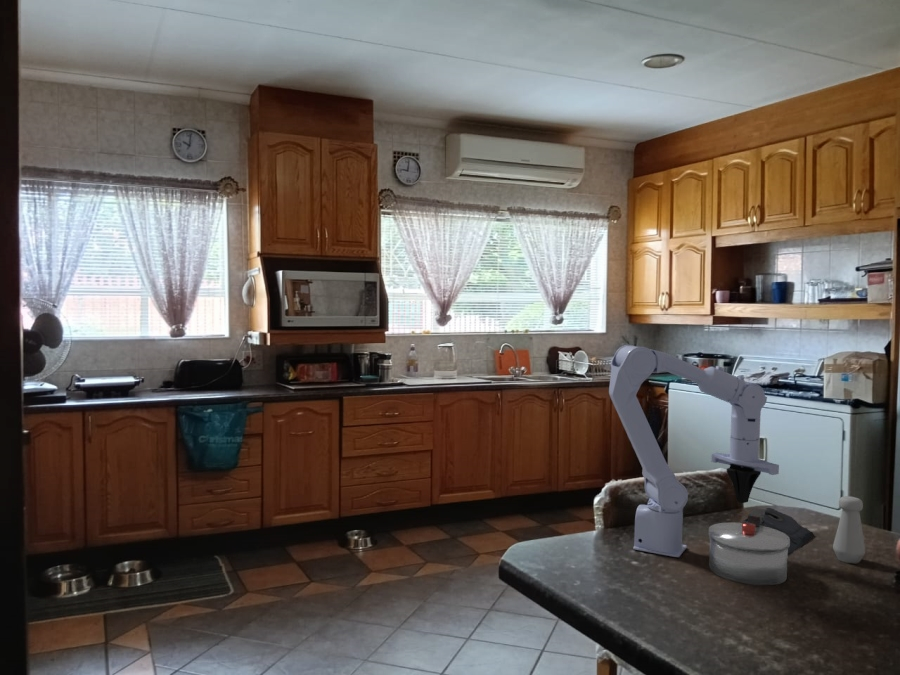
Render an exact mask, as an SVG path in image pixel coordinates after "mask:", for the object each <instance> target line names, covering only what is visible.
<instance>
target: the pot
mask: <svg viewBox="0 0 900 675" xmlns="http://www.w3.org/2000/svg"><path fill="white" fill-rule="evenodd" d="M708 556H709V558H708V569H709V570H710V571H711V572H712V573H714V574H715V575H717V576H719V577H721V578H723V579H726V580H729V581H731V582H732V581H733V582H734V583H735V582H736V583H740V584H745V585H753V586H774V585H780V584H783V583H785V582H786V580H787V575H788V574H787V573H788V556H789V555H788V549H786V550H784V551H779V552H753V551H745V550H740V549H735V548H731V547H727V546H724V545H721V544H719V543H717V542H715V541H713V540H712V539H710V538H709V555H708Z"/></svg>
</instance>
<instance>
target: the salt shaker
mask: <svg viewBox="0 0 900 675" xmlns="http://www.w3.org/2000/svg"><path fill="white" fill-rule="evenodd" d="M863 504H864V503H863V501H862V500H861V498H858V497H854V496H851V495H850V496H848V495H847V496H846V495H845V496H841V497H840V498H839V500H838V506H839V508H840V509H841V514H840V518H839V522H838V525H837V530H836V532H835V536H834V539H833V540H834V541H833V544H832V549H833V551H834V553H835V555H836V557H837V560H838V561H841V562H843V563H845V564H846V563H847V564H859V563H860V562H861V561H862V559H863V557H864V555H865V553H866V547H865V546H866V545H865V540H864V533H863V526H862V520H861V515H860V514H861V513H860V511H862V510H863V508H864V507H863V506H864V505H863Z"/></svg>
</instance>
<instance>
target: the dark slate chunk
mask: <svg viewBox="0 0 900 675" xmlns="http://www.w3.org/2000/svg"><path fill="white" fill-rule="evenodd" d="M741 523H748V517H747V518H745V519H744V520H743V521H742V522H741ZM761 526H765V527H769V528H772V529H775V530H778V531H781V532H783V533H785V534H786V535H787V536H789V538H790V547H789V548H788V556H790V555H791V554H794V552H795V551H797V550H798V549H800V548H802V547H803V546H804V545H805V544H806V543H807V542H809V540H811V539H813V537H815V535H814V534H815V533H814V532H813V531H811V530H810V529H808V528H806V527H803V526H802V525H801V524H799V523H798V522H797V520H795V519H794V518H793V517H792V516H790V515H787V514H785V513H783V512H781V511H778V510H776V509H775V508H772V507H767V508H766V509H765V519H764V521H763V522H762V524H761Z"/></svg>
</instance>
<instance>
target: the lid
mask: <svg viewBox="0 0 900 675" xmlns="http://www.w3.org/2000/svg"><path fill="white" fill-rule="evenodd" d="M765 510H766V509H763V508H757V507H753V508H752V510H751V511H750V512H749V514H748V515H747V518H748V523H742V522H721V523H720V522H718V523H714V524H712V525H710V526H709V527H708V537H709V540H710V539H712V540H713V541H715V542H717V543H719V544H721V545H724V546H727V547H731V548H735V549H740V550H745V551H753V552H779V551H784V550H786V549H788V548H789V547H790V538H789V536H787V535H786V534H785V533H783V532H781V531H778V530H775V529H772V528H769V527H765V526H761V524H762V522H763V521H764V519H765Z"/></svg>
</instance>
